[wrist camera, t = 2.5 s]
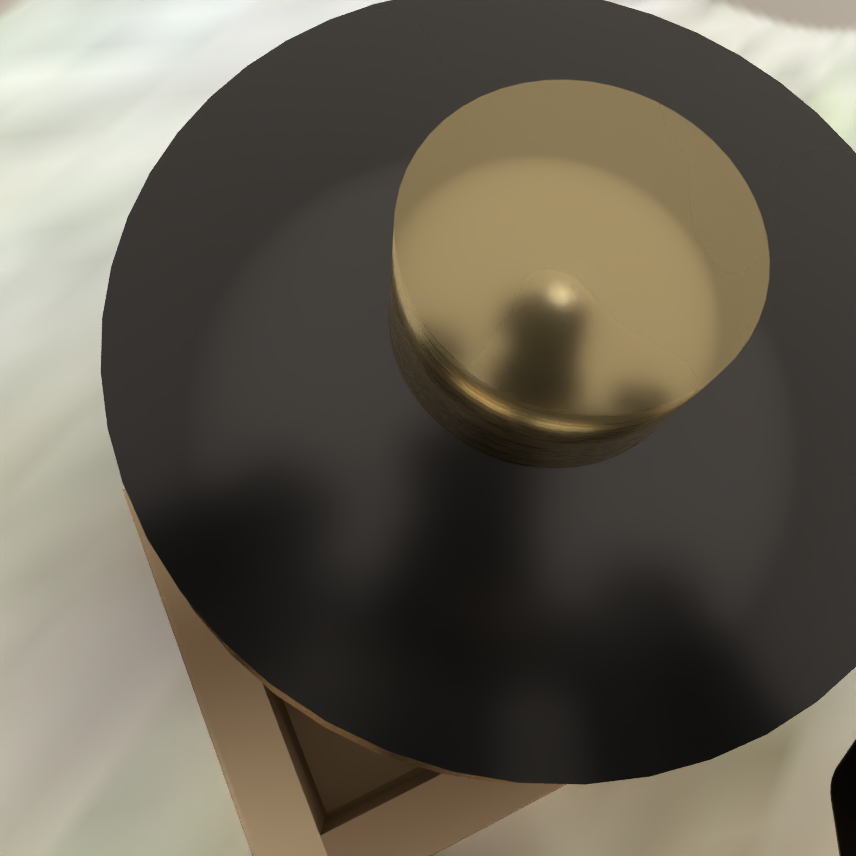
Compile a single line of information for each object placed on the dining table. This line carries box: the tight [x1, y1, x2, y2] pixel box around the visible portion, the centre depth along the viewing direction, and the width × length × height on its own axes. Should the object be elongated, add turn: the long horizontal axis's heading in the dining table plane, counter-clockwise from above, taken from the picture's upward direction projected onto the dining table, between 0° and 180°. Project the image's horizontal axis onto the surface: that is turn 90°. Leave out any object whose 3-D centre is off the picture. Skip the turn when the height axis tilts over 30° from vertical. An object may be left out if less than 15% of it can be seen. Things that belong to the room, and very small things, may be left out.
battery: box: [101, 0, 856, 784], centre depth 10 cm, size 4×4×14 cm
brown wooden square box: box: [123, 489, 566, 856], centre depth 16 cm, size 9×9×4 cm
